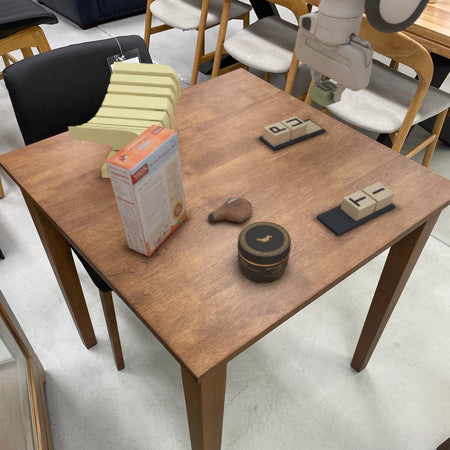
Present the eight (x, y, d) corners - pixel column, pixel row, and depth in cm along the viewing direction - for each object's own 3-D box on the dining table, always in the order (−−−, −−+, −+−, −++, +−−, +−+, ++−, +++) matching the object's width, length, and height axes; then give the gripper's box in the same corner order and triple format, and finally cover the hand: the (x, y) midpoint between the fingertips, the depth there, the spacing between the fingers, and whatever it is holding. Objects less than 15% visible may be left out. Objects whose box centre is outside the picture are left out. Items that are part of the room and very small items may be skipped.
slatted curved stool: (157, 205, 99) (145, 132, 85) (89, 199, 100) (67, 126, 87) (184, 134, 118) (178, 65, 104) (127, 130, 119) (114, 61, 105)
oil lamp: (219, 204, 100) (206, 227, 95) (216, 190, 97) (203, 212, 92) (256, 209, 97) (245, 232, 93) (255, 194, 94) (243, 217, 90)
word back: (308, 120, 122) (310, 107, 119) (325, 132, 118) (327, 118, 115) (258, 138, 116) (259, 125, 113) (274, 151, 112) (275, 137, 109)
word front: (372, 191, 101) (376, 178, 99) (395, 208, 98) (400, 194, 95) (316, 217, 96) (318, 204, 93) (337, 236, 92) (341, 222, 89)
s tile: (325, 92, 102) (328, 78, 100) (340, 101, 100) (343, 87, 97) (309, 98, 101) (311, 84, 98) (323, 107, 98) (326, 93, 96)
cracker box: (165, 210, 98) (153, 121, 82) (187, 219, 96) (179, 130, 80) (125, 248, 90) (103, 158, 74) (149, 258, 88) (131, 169, 72)
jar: (297, 267, 86) (302, 238, 81) (263, 293, 82) (265, 265, 76) (261, 241, 91) (263, 213, 85) (226, 265, 87) (226, 237, 81)
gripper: (386, 40, 84) (368, 109, 95) (316, 9, 95) (307, 74, 106) (363, 47, 82) (347, 118, 93) (294, 14, 93) (287, 81, 104)
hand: (325, 94), depth 99 cm, fingers closed on s tile, 5 cm apart
